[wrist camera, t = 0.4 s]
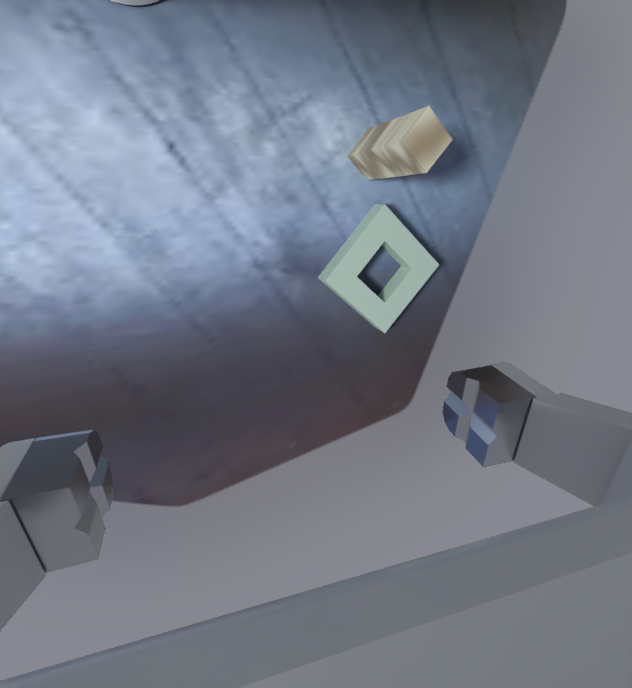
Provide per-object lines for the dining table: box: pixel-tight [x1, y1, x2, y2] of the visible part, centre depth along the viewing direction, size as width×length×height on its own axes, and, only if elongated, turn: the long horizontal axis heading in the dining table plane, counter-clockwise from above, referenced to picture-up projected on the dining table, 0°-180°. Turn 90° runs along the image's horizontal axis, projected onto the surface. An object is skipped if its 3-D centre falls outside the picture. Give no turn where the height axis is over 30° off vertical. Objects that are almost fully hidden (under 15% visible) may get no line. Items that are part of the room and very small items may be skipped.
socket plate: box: [318, 204, 439, 333], centre depth 58 cm, size 14×14×3 cm
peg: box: [347, 106, 453, 180], centre depth 47 cm, size 4×4×14 cm
